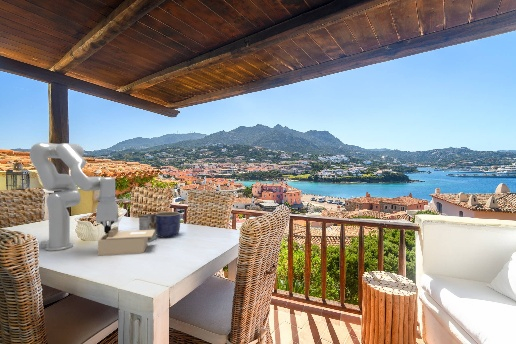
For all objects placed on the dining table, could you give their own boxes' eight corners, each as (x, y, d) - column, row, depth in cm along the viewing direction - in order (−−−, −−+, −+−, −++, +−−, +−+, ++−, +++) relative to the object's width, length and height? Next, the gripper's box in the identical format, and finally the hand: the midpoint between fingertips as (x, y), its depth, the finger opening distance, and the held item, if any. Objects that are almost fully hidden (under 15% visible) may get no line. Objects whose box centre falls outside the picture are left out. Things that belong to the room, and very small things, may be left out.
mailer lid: (106, 239, 143) (106, 232, 143) (113, 232, 158) (113, 226, 158) (151, 237, 149) (151, 230, 149) (155, 230, 164) (155, 224, 164)
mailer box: (98, 255, 143) (98, 240, 142) (106, 247, 157) (106, 233, 157) (143, 252, 148) (143, 238, 148) (147, 245, 163) (147, 231, 162)
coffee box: (147, 238, 178) (147, 213, 177) (156, 238, 176) (156, 214, 176) (138, 242, 169) (138, 216, 168) (148, 242, 167) (148, 216, 167)
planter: (170, 239, 174) (170, 216, 174) (148, 237, 180) (148, 214, 179) (184, 233, 190) (185, 212, 190) (164, 231, 195) (165, 210, 195)
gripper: (89, 201, 144) (90, 235, 145) (120, 200, 148) (120, 234, 148) (94, 199, 152) (94, 232, 152) (124, 198, 155) (124, 231, 156)
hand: (107, 233), depth 150 cm, fingers closed
